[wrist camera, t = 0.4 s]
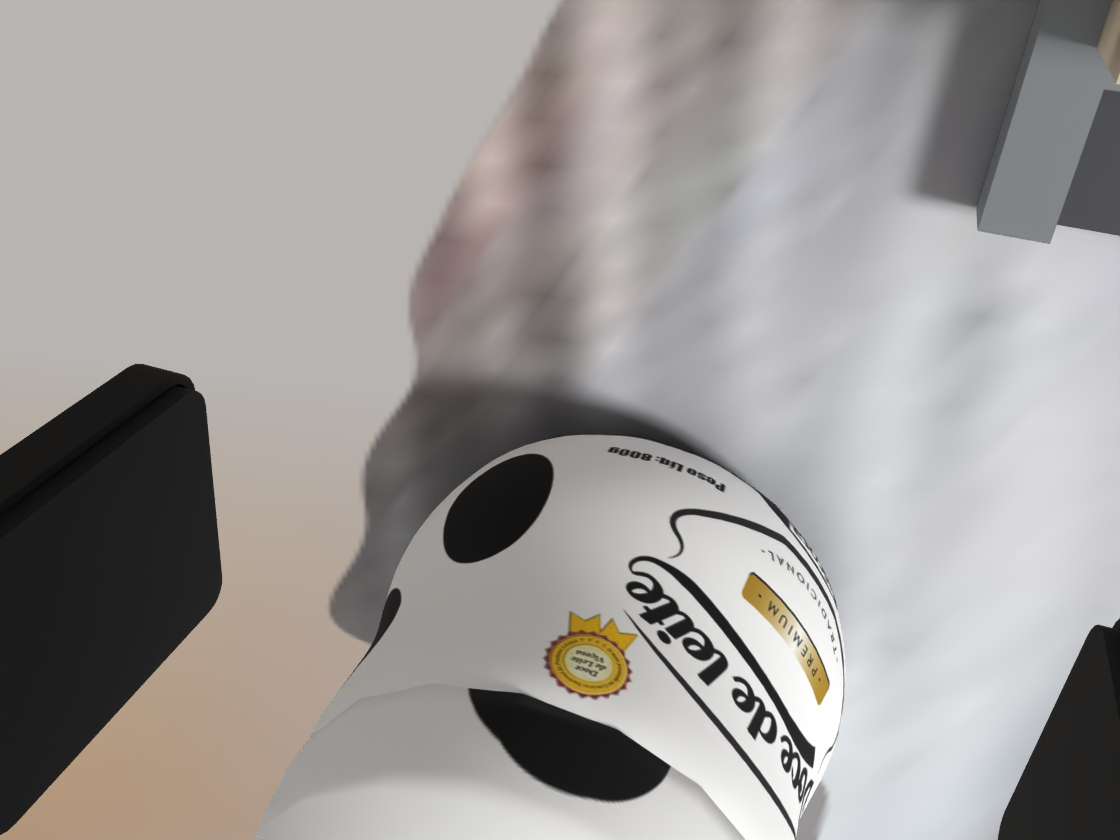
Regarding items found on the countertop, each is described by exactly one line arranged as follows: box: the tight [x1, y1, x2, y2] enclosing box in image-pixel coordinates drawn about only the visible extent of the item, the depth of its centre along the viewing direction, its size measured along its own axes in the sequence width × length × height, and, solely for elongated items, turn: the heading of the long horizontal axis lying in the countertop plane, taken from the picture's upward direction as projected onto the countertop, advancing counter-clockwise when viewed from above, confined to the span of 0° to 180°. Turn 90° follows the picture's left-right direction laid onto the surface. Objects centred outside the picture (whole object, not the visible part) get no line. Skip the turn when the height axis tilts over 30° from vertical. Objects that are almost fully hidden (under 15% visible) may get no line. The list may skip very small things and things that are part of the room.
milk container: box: [254, 434, 846, 840], centre depth 37 cm, size 17×17×18 cm
